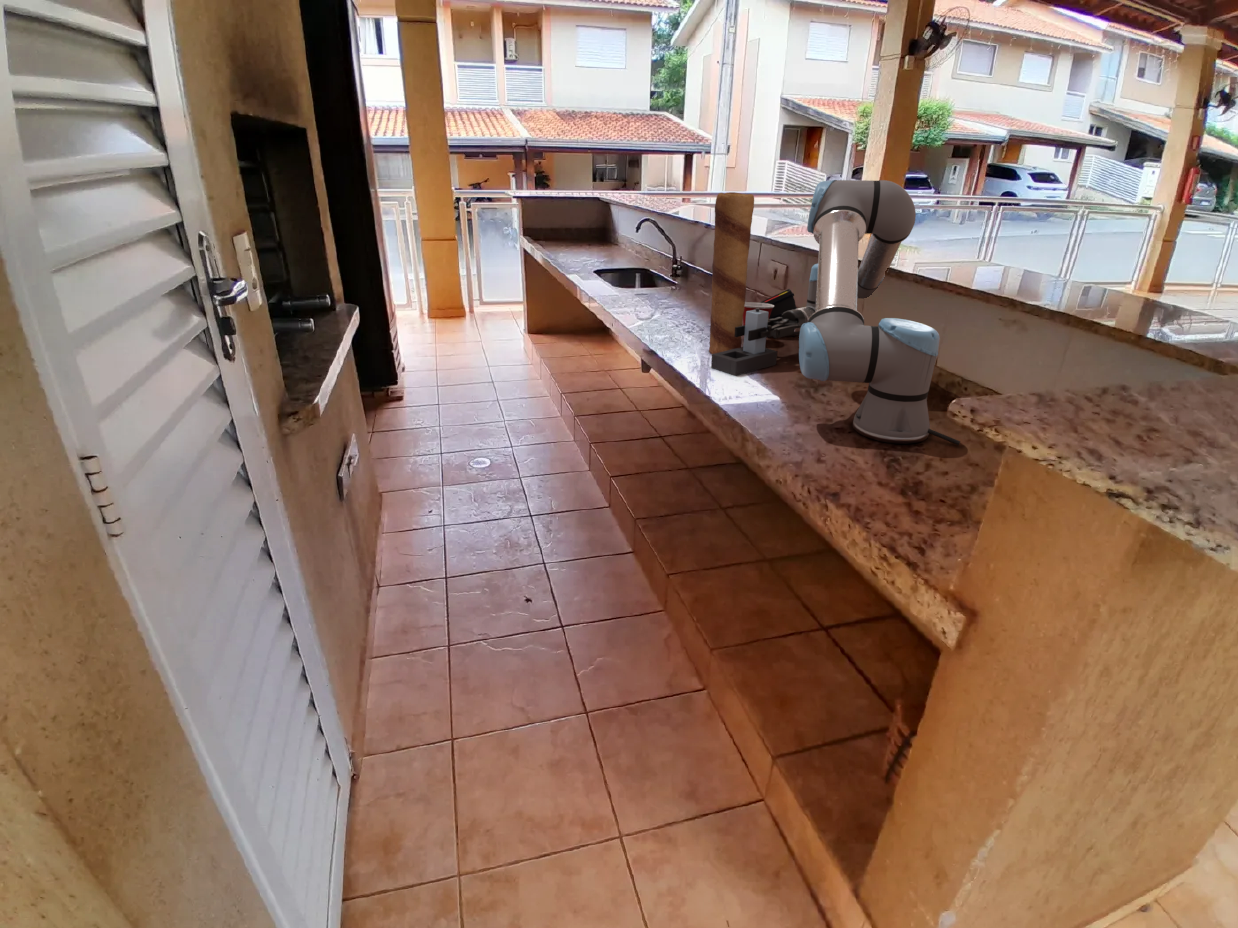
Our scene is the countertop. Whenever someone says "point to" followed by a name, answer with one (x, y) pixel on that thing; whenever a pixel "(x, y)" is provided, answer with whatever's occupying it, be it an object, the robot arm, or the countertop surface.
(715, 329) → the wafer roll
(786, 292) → the magazine
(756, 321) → the grey rectangular block
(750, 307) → the plastic cup
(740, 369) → the cinder block
